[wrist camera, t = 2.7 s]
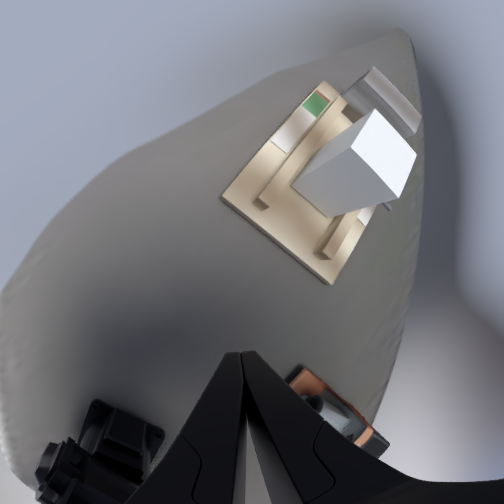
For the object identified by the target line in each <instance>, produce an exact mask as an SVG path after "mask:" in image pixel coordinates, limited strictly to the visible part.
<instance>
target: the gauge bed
mask: <svg viewBox="0 0 504 504" xmlns="http://www.w3.org/2000/svg"><path fill="white" fill-rule="evenodd" d="M373 109H376V110H377V111H378V112H379V113H380V114H381V115H382V116H383V117H384V118H385V119H386V120H387V121H388V122H389V123H390V125H391V126H392V127H393V128H394V129H395V130H396V131H397V132H398V133H399V134H400V136H401V137H402V138H403V139H406V138H408V137H410V136H412V135H414V134H415V133H416V130H417V128H418V125H419V123H420V120H421V117H422V116H421V115H420V114H419V113H418V112H417V110H416V109H415V108H414V107H413V106H412V105H411V104H410V102H409V101H408V100H407V99H406V98H405V97H404V96H403V95H402V94H401V93H400V92H399V91H398V89H397V88H396V87H395V86H394V85H393V84H392V83H391V82H390V81H389V80H388V79H387V78H386V77H385V76H384V75H383V74H382V73H381V72H379V71H378V70H377V69H376V68H375V67H374V66H373V67H372V68H371V69H370V70H369V71H368V72H366V73H365V74H364V75H363V76H362V77H361V78H360V79H358V80H357V81H356V82H355V83H354V84H353V85H352V86H350V87H349V88H348V89H347V90H346V91H345V92H344V93H343V94H342V95H340V94H339V93H338V92H337V91H336V90H335V89H334V88H332V87H331V86H330V85H329V84H328V83H326V82H325V81H323V82H322V83H321V84H320V85H319V86H318V87H317V88H316V89H315V90H314V91H313V92H312V93H311V94H310V95H309V96H308V97H307V99H306V100H305V101H304V102H303V103H302V104H301V105H300V106H299V107H298V108H297V109H296V110H295V111H294V112H293V114H292V115H291V116H290V117H289V118H288V119H287V120H286V121H285V122H284V123H283V125H282V126H281V127H280V128H279V129H278V130H277V131H276V132H275V133H274V135H273V136H272V137H271V138H270V139H269V140H268V141H267V143H266V144H265V145H264V146H263V147H262V148H261V149H260V151H259V152H258V153H257V154H256V155H255V156H254V158H253V159H252V160H251V161H250V162H249V163H248V165H247V166H246V167H245V168H244V169H243V171H242V172H241V173H240V174H239V175H238V176H237V178H236V179H235V180H234V181H233V183H232V184H231V185H230V186H229V187H228V189H227V190H226V191H225V192H224V194H223V195H222V196H221V198H220V199H221V200H222V201H223V202H224V203H226V204H227V205H228V206H229V207H231V208H232V209H233V210H235V211H236V212H237V213H238V214H240V215H241V216H242V217H243V218H245V219H246V220H247V221H248V222H250V223H251V224H252V225H254V226H255V227H256V228H257V229H259V230H260V231H261V232H262V233H264V234H265V235H266V236H267V237H269V238H270V239H271V240H272V241H274V242H275V243H276V244H277V245H278V246H280V247H281V248H282V249H283V250H285V251H286V252H287V253H288V254H290V255H291V256H292V257H293V258H294V259H296V260H297V261H298V262H299V263H301V264H302V265H303V266H304V267H306V268H307V269H308V270H309V271H310V272H312V273H313V274H314V275H315V276H316V277H318V278H319V279H320V280H321V281H323V282H324V283H325V284H328V285H332V284H333V283H334V281H335V280H336V278H337V276H338V275H339V273H340V271H341V269H342V268H343V266H344V264H345V263H346V261H347V259H348V257H349V256H350V254H351V252H352V250H353V249H354V247H355V245H356V243H357V242H358V240H359V238H360V236H361V234H362V232H363V231H364V229H365V227H366V225H367V223H368V221H369V220H370V218H371V216H372V214H373V212H374V210H375V208H376V206H377V205H373V206H370V207H366V208H363V209H359V210H356V211H352V212H349V213H345V214H342V215H338V216H335V217H331V218H327V217H326V216H325V215H324V214H323V213H321V212H320V211H319V210H318V209H317V208H316V207H315V206H314V205H313V204H311V203H310V202H309V201H308V200H307V199H306V198H305V197H303V196H302V195H301V194H300V193H299V192H298V191H297V190H295V189H294V188H293V187H292V186H291V184H292V182H293V181H294V180H295V178H296V177H297V176H298V174H299V173H300V172H301V170H302V169H303V168H304V166H305V165H306V163H307V162H308V161H309V159H310V158H311V157H312V155H313V154H314V153H315V151H317V150H318V149H319V148H321V147H322V146H323V145H325V144H326V143H328V142H329V141H330V140H332V139H333V138H334V137H336V136H337V135H338V134H340V133H341V132H343V131H344V130H345V129H347V128H348V127H349V126H351V125H352V124H354V123H355V122H356V121H358V120H359V119H361V118H362V117H363V116H365V115H366V114H368V113H369V112H371V111H372V110H373Z"/></svg>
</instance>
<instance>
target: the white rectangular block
mask: <svg viewBox="0 0 504 504" xmlns="http://www.w3.org/2000/svg"><path fill="white" fill-rule="evenodd" d="M415 158H416V153H415V152H414V151H413V150H412V148H411V147H410V146H409V145H408V144H407V142H406V141H405V140H404V139H403V138H402V137H401V136H400V134H399V133H398V132H397V131H396V130H395V129H394V128H393V127H392V126H391V125H390V123H389V122H388V121H387V120H386V119H385V118H384V117H383V116H382V115H381V114H380V113H379V112H378V111H377V110H376V109H373V110H372V111H371V112H369V113H368V114H366V115H365V116H363V117H362V118H361V119H359V120H358V121H356V122H355V123H354V124H352V125H351V126H349V127H348V128H347V129H345V130H344V131H343V132H341V133H340V134H338V135H337V136H336V137H334V138H333V139H332V140H330V141H329V142H328V143H326V144H325V145H323V146H322V147H321V148H319V149H318V150H317V151H315V153H314V154H313V155H312V157H311V158H310V159H309V161H308V162H307V163H306V165H305V166H304V168H303V169H302V170H301V172H300V173H299V174H298V176H297V177H296V178H295V180H294V181H293V182H292V184H291V186H292V187H293V188H294V189H295V190H297V191H298V192H299V193H300V194H301V195H302V196H303V197H305V198H306V199H307V200H308V201H309V202H310V203H311V204H313V205H314V206H315V207H316V208H317V209H318V210H319V211H320V212H321V213H323V214H324V215H325V216H326V217H327V218H331V217H335V216H338V215H342V214H345V213H349V212H352V211H356V210H359V209H363V208H366V207H370V206H373V205H377V204H380V203H382V204H383V205H384V207H385V208H386V209H387V210H388V211H390V210H391V209H392V207H391V206H390V205H389V204H388V203H387V202H388V201H391V200H395V199H398V198H399V197H400V194H401V192H402V190H403V187H404V185H405V183H406V180H407V178H408V175H409V173H410V171H411V168H412V166H413V163H414V160H415Z"/></svg>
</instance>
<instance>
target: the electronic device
mask: <svg viewBox="0 0 504 504" xmlns="http://www.w3.org/2000/svg"><path fill="white" fill-rule="evenodd" d="M288 385H289V386H290V387H291V388H292V389H293V390H294V391H295V392H296V393H298V394H299V395H300V396H301V397H302V398H303V399H304V400H305V401H306V402H307V403H308V404H309V405H310V406H311V407H312V408H313V409H314V410H315V411H317V412H318V413H319V414H320V415H321V416H322V417H323V418H324V420H326V421H328V422H329V423H330V424H331V425H332V426H333V427H334V428H335V429H336V430H338V431H339V432H340V433H341V434H343V435H344V436H345V437H346V438H347V439H349V440H350V441H351V442H353V443H354V444H356V445H357V446H359V447H360V448H362V449H363V450H365V451H366V452H368V453H369V454H371V455H373V456H374V457H376V458H377V459H378V458H379V457H380V456H381V455H382V454H383V453H384V452H385V451H386V450H387V448H388V447H389V446H390V443H389V442H388V441H387V440H386V439H384V437H382V436H381V435H380V433H378V432H377V431H376V430H375V429H374V428H373V427H372V426H371V425H370V424H369V423H368V422H367V421H366V420H365V418H364V417H363V416H362V415H361V414H360V413H359V412H358V411H357V410H356V409H355V408H354V407H353V406H352V405H351V404H349V403H348V402H347V401H345V400H344V399H342V398H341V397H340V396H339V395H338V394H337V393H335V392H334V391H333V390H332V389H331V388H330V387H329V386H328V385H327V384H326V383H324V382H322V380H321V379H319V378H318V377H317V376H316V375H314V374H313V372H312V371H310V370H309V369H308V368H307V367H304V368H303V369H302V370H301V371H300V372H299V373H298V375H297V376H296V377H295V378H294V379H293V380H292V381H291V382H290V383H289V384H288Z"/></svg>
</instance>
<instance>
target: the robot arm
mask: <svg viewBox="0 0 504 504" xmlns="http://www.w3.org/2000/svg"><path fill="white" fill-rule="evenodd" d="M95 404H97V405H99V407H96V406H95ZM246 415H247V417H246ZM247 421H248V426H249V429H250V433H251V437H252V440H253V444H254V447H255V451H256V454H257V457H258V461H259V464H260V467H261V471H262V474H263V477H264V480H265V483H266V487H267V490H268V493H269V496H270V499H271V502H272V504H504V479H499V480H489V481H476V482H432V481H431V482H430V481H423V480H419V479H416V478H413V477H410V476H407V475H405V474H403V473H401V472H400V471H398V470H396V469H394V468H392V467H391V466H389V465H387V464H386V463H384V462H382V461H381V460H379V459H377V458H376V457H374V456H373V455H371V454H369V453H368V452H366V451H365V450H363V449H362V448H360V447H359V446H357V445H356V444H354V443H353V442H351V441H350V440H349V439H347V438H346V437H345V436H344V435H343V434H341V433H340V432H339V431H338V430H336V429H335V428H334V427H333V426H332V425H331V424H330V423H329V422H328V421H326V420H324V418H323V417H322V416H321V415H320V414H319V413H318V412H317V411H315V410H314V409H313V408H312V407H311V406H310V405H309V404H308V403H307V402H306V401H305V400H304V399H303V398H302V397H301V396H300V395H299V394H298V393H296V392H295V391H294V390H293V389H292V388H291V387H290V386H289V385H288V384H287V383H286V382H285V381H284V380H283V379H282V378H281V377H280V376H279V375H278V374H277V373H276V372H275V371H274V370H273V369H272V368H271V367H270V366H269V365H268V364H267V363H266V362H265V361H264V360H263V358H262V357H261V356H260V355H259V354H258V353H257V352H256V351H243V352H241V354H240V352H228V353H226V354H225V355H224V357H223V359H222V360H221V362H220V364H219V366H218V367H217V369H216V371H215V373H214V374H213V376H212V378H211V380H210V381H209V383H208V385H207V387H206V388H205V390H204V392H203V393H202V395H201V397H200V399H199V400H198V402H197V404H196V405H195V407H194V409H193V411H192V412H191V414H190V416H189V417H188V419H187V421H186V422H185V424H184V426H183V427H182V429H181V431H180V434H178V436H177V437H176V439H175V441H174V442H173V444H172V445H171V447H170V448H169V450H168V451H167V453H166V454H165V456H164V457H163V459H162V460H161V461H160V463H159V464H158V465H157V467H156V468H155V469H154V470H153V471H152V473H151V474H150V464H151V462H152V460H153V458H154V456H155V455H156V453H157V451H158V449H159V447H160V445H161V444H162V442H163V440H164V438H165V432H164V431H163V430H162V429H160V428H157V427H155V426H152V425H150V424H148V423H145V422H144V421H142V420H140V419H138V418H136V417H134V416H131V415H129V414H127V413H125V412H123V411H121V410H119V409H115V408H113V407H111V406H109V405H107V404H105V403H103V402H102V401H100V400H97V399H94V400H93V401H92V403H91V405H90V408H89V410H88V413H87V416H86V419H85V422H84V425H83V428H82V431H81V434H80V437H79V440H78V444H76V443H75V442H76V441H74V440H73V439H72V438H70V437H68V438H67V439H66V441H65V442H64V441H62V442H61V443H59V444H56V443H51V442H50V443H49V444H48V446H47V447H46V449H45V451H44V452H43V454H42V456H41V458H40V460H39V462H38V464H37V467H36V469H35V472H34V475H35V477H36V480H37V483H36V497H35V499H36V501H38V502H39V503H41V504H245V483H246V443H247ZM157 433H160V434H161V435H157Z"/></svg>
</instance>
